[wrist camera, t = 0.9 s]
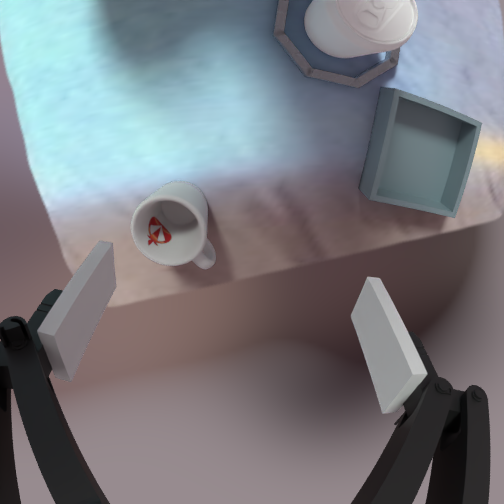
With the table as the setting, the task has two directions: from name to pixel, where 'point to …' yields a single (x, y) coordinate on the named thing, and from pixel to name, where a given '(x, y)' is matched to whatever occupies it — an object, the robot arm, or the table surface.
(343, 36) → the beverage can
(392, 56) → the collar
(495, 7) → the table surface
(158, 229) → the cup
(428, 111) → the bin
